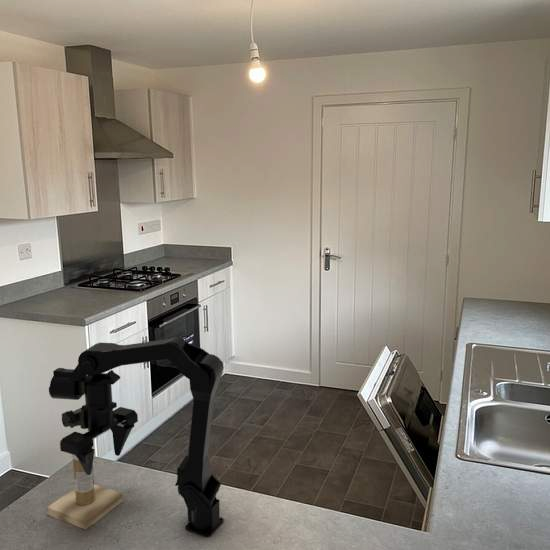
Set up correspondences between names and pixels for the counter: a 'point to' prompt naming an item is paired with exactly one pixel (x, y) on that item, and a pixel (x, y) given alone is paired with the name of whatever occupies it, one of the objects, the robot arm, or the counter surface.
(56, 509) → the tan block
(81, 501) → the sprinkles bottle
